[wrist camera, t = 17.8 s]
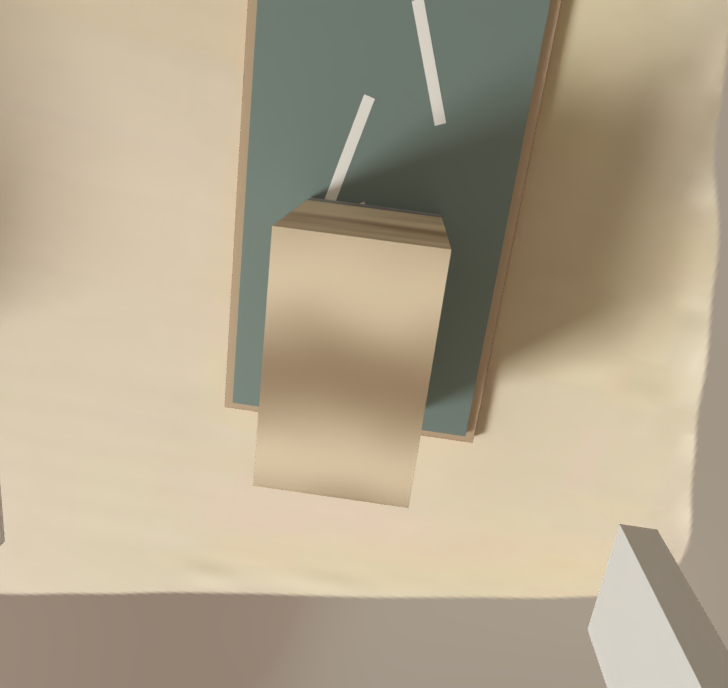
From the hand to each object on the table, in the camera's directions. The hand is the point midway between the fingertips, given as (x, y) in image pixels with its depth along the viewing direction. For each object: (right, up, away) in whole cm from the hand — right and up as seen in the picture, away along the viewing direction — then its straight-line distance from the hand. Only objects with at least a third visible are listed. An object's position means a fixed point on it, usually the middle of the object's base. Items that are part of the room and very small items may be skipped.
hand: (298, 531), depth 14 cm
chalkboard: (+2, +13, +16) cm, 21 cm away
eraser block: (+1, +6, +17) cm, 18 cm away
